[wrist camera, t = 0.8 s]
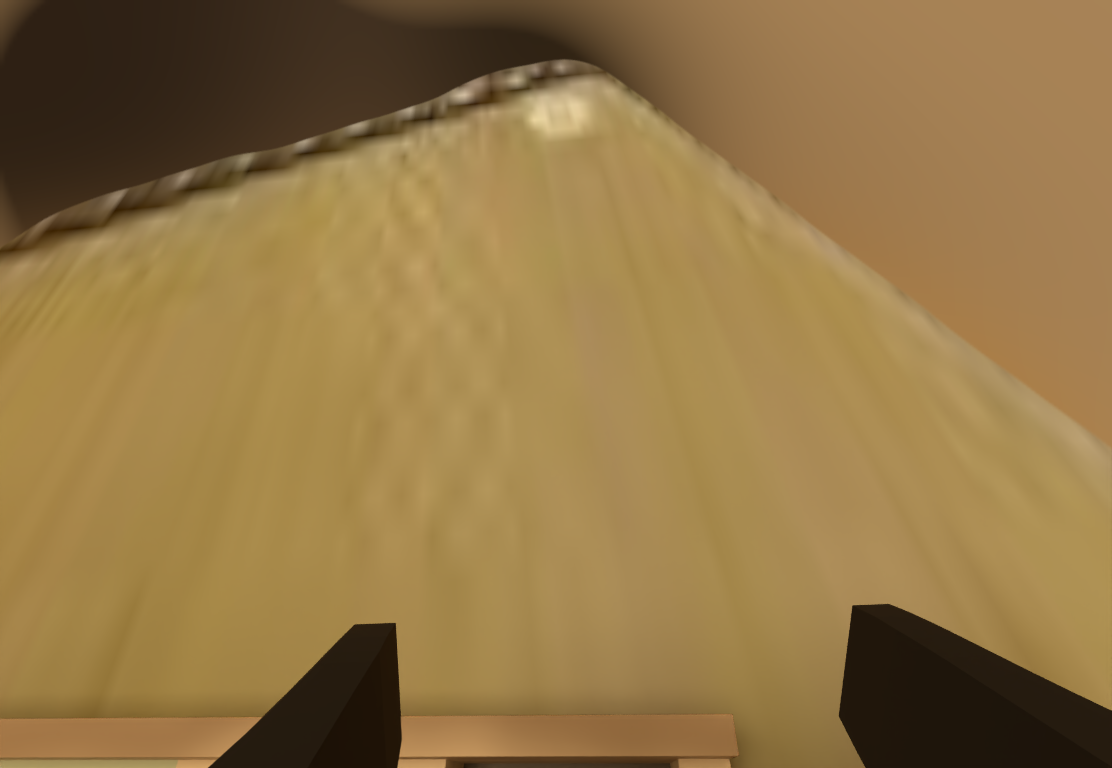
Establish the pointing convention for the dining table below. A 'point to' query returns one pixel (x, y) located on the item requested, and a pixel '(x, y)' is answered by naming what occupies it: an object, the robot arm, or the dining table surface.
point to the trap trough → (426, 750)
